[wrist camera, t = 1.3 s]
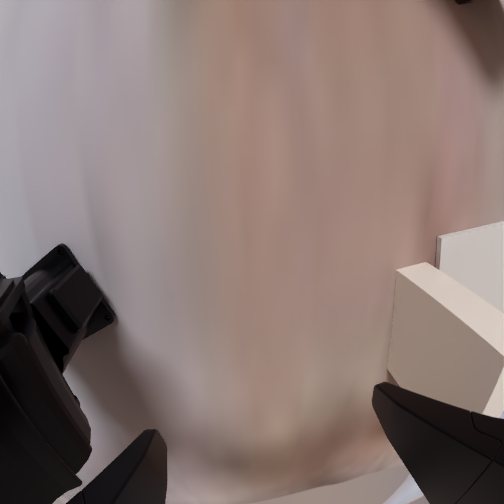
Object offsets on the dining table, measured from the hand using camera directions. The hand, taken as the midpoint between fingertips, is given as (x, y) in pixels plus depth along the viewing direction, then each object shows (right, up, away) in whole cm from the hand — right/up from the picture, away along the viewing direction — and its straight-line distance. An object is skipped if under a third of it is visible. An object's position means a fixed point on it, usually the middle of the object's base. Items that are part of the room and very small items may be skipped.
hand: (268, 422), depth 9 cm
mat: (+23, +2, +15) cm, 27 cm away
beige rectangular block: (+13, 0, +14) cm, 19 cm away
